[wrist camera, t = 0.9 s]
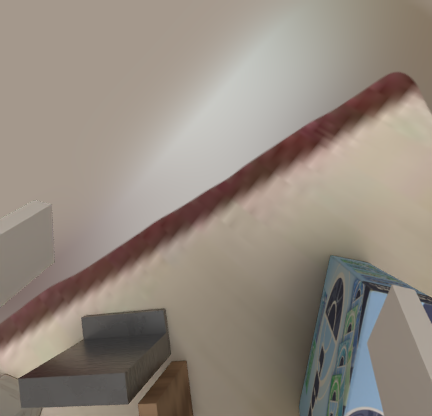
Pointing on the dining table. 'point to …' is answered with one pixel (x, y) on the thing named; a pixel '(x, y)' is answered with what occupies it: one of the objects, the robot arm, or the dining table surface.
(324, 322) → the gum box
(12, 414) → the supplement box
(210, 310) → the dining table surface
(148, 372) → the bookend
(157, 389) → the shelf
